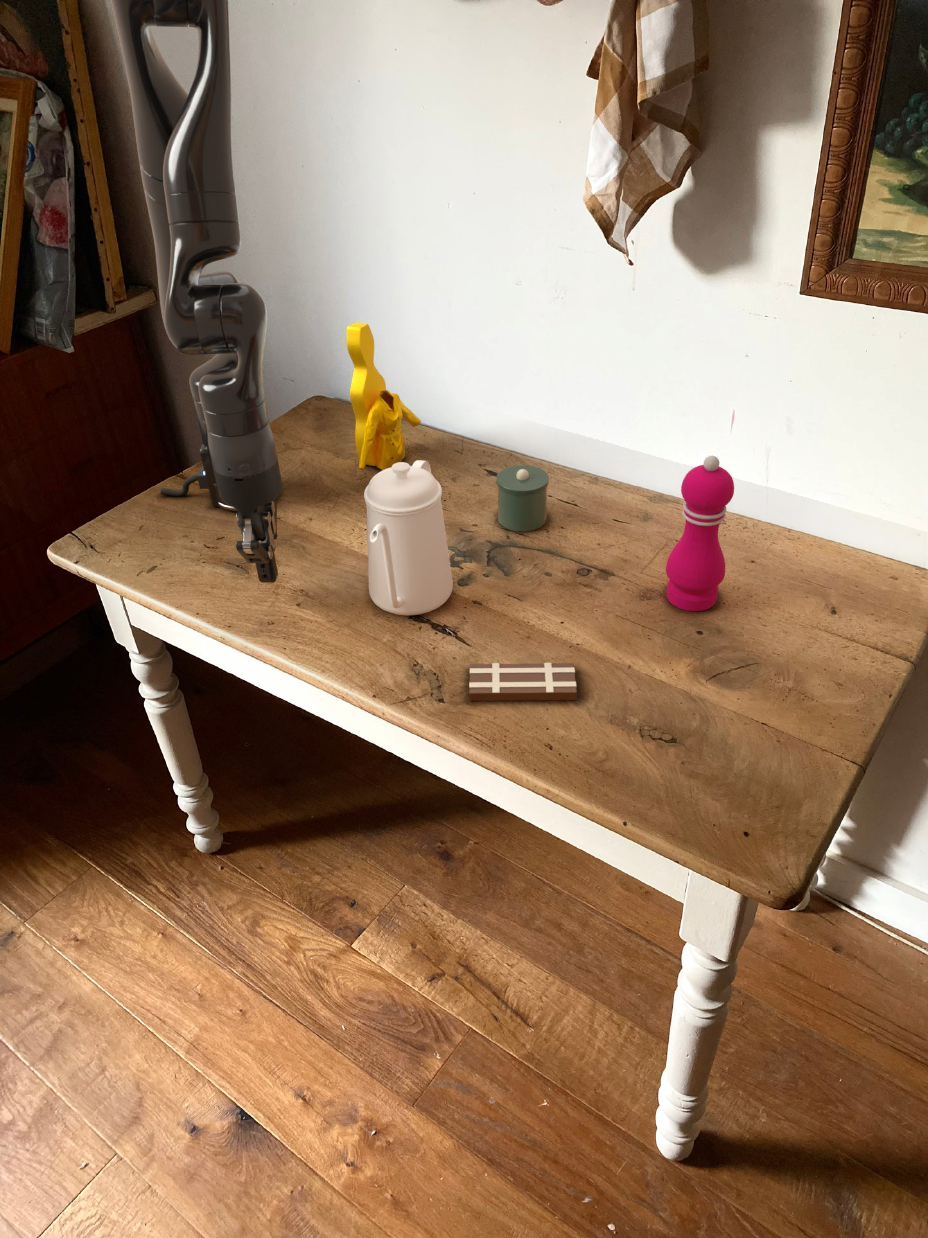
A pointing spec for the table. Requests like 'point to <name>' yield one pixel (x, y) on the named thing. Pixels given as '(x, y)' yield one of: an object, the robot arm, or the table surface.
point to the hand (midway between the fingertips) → (269, 579)
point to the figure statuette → (374, 405)
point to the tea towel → (522, 682)
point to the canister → (522, 497)
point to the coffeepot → (407, 540)
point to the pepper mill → (700, 538)
